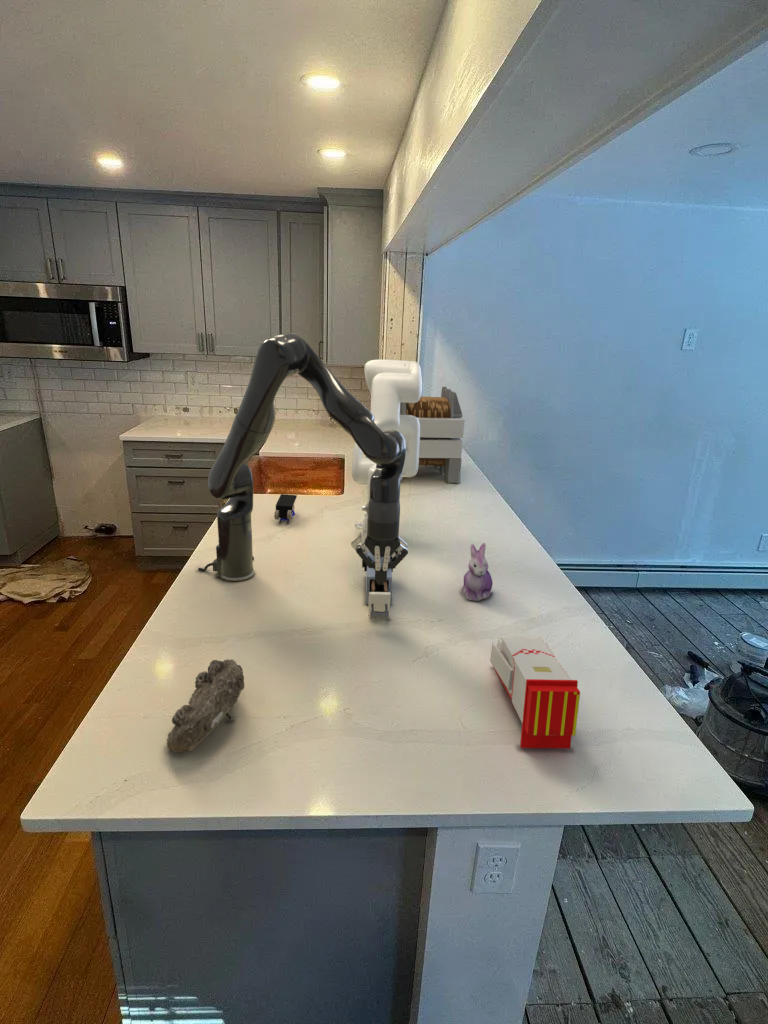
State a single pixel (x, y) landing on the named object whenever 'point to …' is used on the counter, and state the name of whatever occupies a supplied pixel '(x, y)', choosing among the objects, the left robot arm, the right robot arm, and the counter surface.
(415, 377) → the right robot arm
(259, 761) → the counter surface
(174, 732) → the fossil
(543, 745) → the toy
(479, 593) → the figurine
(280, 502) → the figurine character
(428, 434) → the transformer
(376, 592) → the drawer
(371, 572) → the blue-grey slab
